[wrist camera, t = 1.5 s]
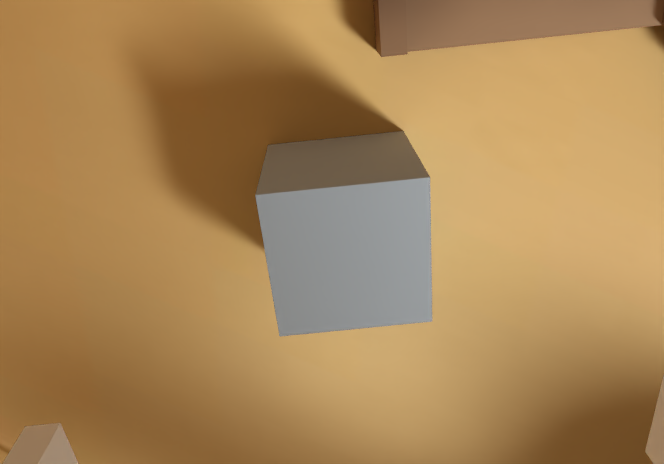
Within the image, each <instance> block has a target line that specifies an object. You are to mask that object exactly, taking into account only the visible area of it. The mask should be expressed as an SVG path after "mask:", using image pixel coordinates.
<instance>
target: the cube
mask: <svg viewBox="0 0 664 464" xmlns="http://www.w3.org/2000/svg"><path fill="white" fill-rule="evenodd" d="M255 197H256V202H257V208H258V214H259V220H260V226H261V231H262V237H263V243H264V249H265V255H266V260H267V266H268V272H269V278H270V284H271V289H272V295H273V301H274V307H275V313H276V318H277V324H278V330H279V336H289V335H299V334H309V333H319V332H330V331H340V330H350V329H360V328H370V327H380V326H391V325H401V324H411V323H421V322H431V321H432V276H431V210H430V176H429V175H428V173H427V171H426V169H425V168H424V166H423V164H422V162H421V161H420V159H419V157H418V156H417V154H416V152H415V150H414V149H413V147H412V145H411V143H410V142H409V140H408V138H407V136H406V135H405V133H404V131H397V132H387V133H378V134H368V135H358V136H349V137H339V138H329V139H320V140H310V141H300V142H290V143H281V144H271V145H268V148H267V151H266V155H265V159H264V163H263V167H262V171H261V175H260V179H259V183H258V186H257V190H256V194H255Z"/></svg>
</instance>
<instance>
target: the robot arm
mask: <svg viewBox="0 0 664 464" xmlns="http://www.w3.org/2000/svg"><path fill="white" fill-rule="evenodd" d="M645 452H646V454H647V455H648V457H649V458H650V459H651V461H652V462H653V464H664V376H663V380H662V384H661V388H660V392H659V396H658V400H657V404H656V408H655V413H654V417H653V421H652V425H651V429H650V433H649V437H648V441H647V445H646V450H645ZM2 464H79V463H78V461H77V459H76V457H75V454H74V452H73V450H72V448H71V445H70V443H69V441H68V439H67V437H66V434H65V432H64V430H63V428H62V425H61V423H53V424H43V425H33V426H25V427H24V429H23V431H22V432H21V434H20V436H19V437H18V439H17V440H16V442H15V444H14V445H13V447H12V449H11V450H10V452H9V453H8V455H7V457H6V458H5V460H4V462H3V463H2Z"/></svg>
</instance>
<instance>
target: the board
mask: <svg viewBox="0 0 664 464" xmlns="http://www.w3.org/2000/svg"><path fill="white" fill-rule="evenodd" d="M373 2H374V20H375V38H376V51H377V52H378V53H379V55H380V56H381V57H385V56H394V55H404V54H407V52H410V51H419V50H429V49H438V48H448V47H457V46H467V45H476V44H486V43H495V42H505V41H515V40H524V39H534V38H543V37H553V36H562V35H572V34H581V33H591V32H600V31H610V30H619V29H629V28H639V27H648V26H658V25H664V0H373Z"/></svg>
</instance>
